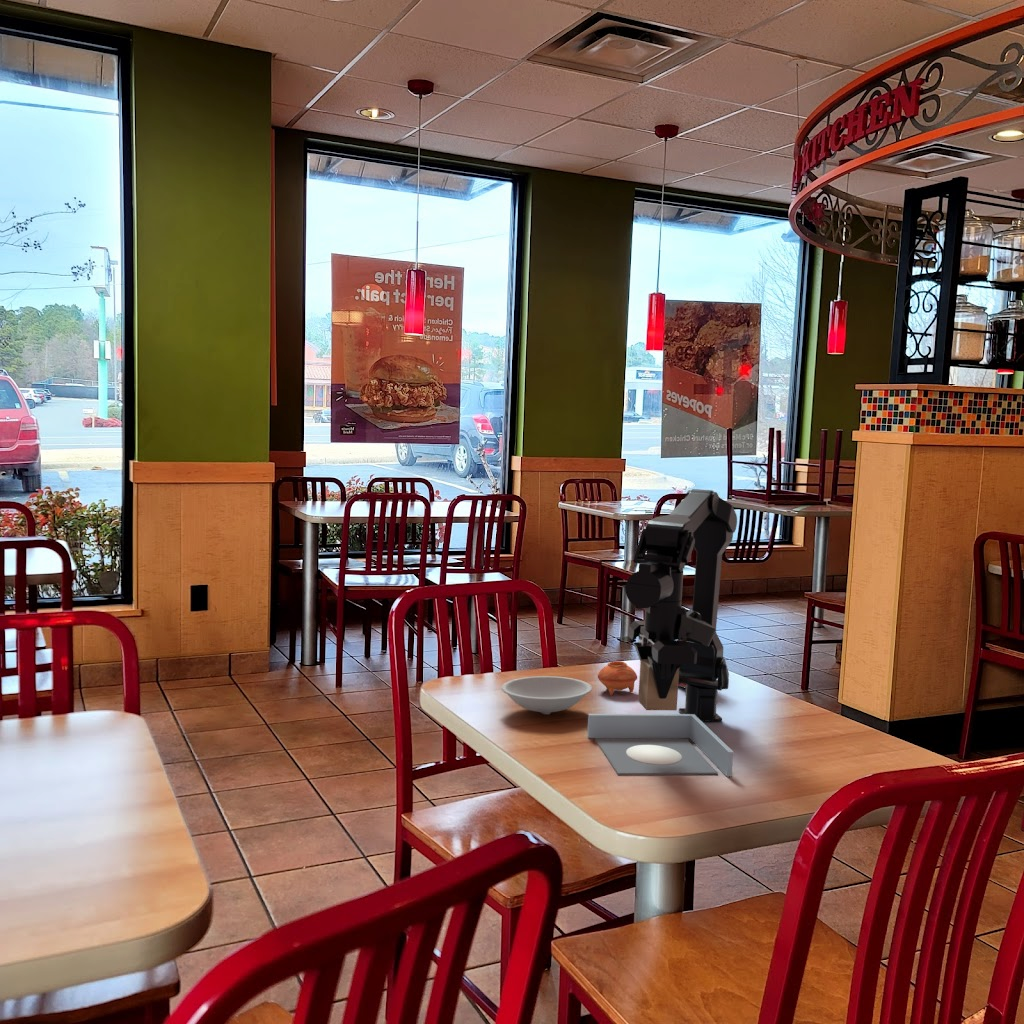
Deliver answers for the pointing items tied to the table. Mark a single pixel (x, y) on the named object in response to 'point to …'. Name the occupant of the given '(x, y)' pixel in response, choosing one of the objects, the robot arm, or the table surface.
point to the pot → (617, 676)
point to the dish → (546, 692)
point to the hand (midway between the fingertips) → (657, 693)
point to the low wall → (663, 732)
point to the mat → (654, 756)
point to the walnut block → (655, 690)
